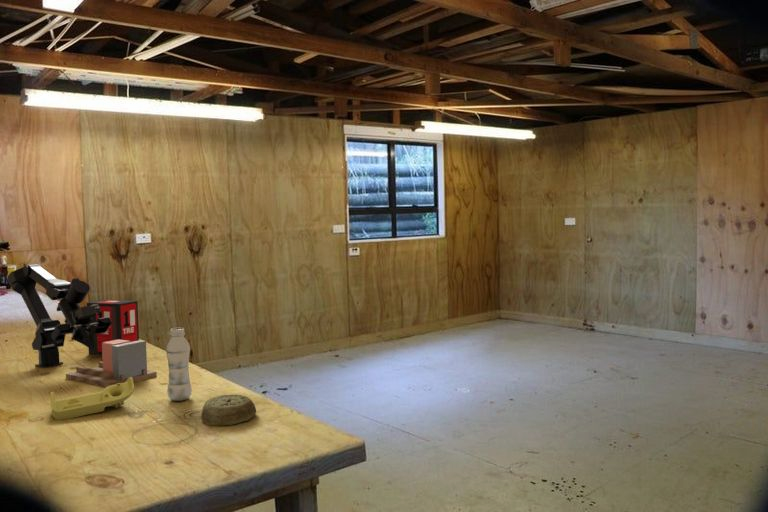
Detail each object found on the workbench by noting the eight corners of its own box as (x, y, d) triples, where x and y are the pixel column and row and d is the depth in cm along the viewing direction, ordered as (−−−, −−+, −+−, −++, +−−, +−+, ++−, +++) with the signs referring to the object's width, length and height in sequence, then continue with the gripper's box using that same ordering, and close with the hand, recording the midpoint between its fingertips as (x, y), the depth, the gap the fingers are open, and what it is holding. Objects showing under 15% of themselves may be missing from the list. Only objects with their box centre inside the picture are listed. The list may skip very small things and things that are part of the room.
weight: (227, 431, 142) (226, 410, 142) (188, 422, 150) (188, 402, 149) (267, 415, 154) (266, 396, 154) (229, 407, 161) (229, 389, 161)
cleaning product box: (139, 352, 234) (137, 301, 233) (121, 357, 225) (119, 304, 224) (107, 349, 240) (105, 299, 239) (88, 354, 232) (86, 302, 231)
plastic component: (51, 413, 151) (50, 387, 159) (55, 435, 154) (54, 409, 162) (136, 396, 160) (131, 372, 167) (138, 417, 163) (133, 393, 171)
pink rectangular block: (103, 373, 192) (101, 342, 192) (120, 369, 197) (118, 339, 197) (114, 375, 189) (113, 344, 189) (131, 371, 194) (130, 340, 194)
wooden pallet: (66, 378, 195) (65, 368, 195) (111, 368, 208) (110, 358, 208) (111, 388, 182) (111, 377, 182) (156, 376, 196) (156, 366, 195)
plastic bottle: (169, 404, 164) (166, 331, 163) (166, 398, 170) (163, 328, 169) (194, 401, 167) (191, 329, 166) (189, 395, 173) (187, 325, 172)
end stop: (113, 379, 186) (111, 345, 186) (141, 372, 195) (140, 340, 194) (119, 380, 185) (117, 346, 184) (147, 373, 193) (146, 340, 193)
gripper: (54, 300, 193) (76, 337, 188) (108, 293, 209) (129, 328, 204) (42, 322, 198) (62, 359, 193) (95, 314, 214) (115, 348, 209)
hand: (93, 348), depth 199 cm, fingers closed
